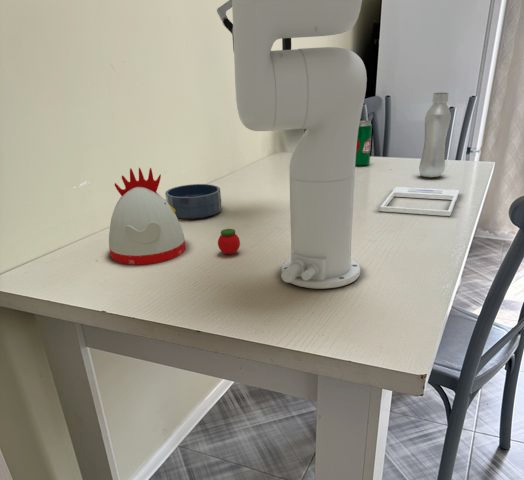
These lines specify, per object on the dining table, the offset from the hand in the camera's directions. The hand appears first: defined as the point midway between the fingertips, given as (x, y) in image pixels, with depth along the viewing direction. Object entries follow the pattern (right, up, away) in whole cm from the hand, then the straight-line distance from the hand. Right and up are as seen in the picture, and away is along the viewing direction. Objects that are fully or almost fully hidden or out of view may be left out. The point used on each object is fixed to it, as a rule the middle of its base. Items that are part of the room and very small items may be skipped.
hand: (262, 55), depth 104 cm
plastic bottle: (+45, -14, +32) cm, 57 cm away
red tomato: (-6, -43, -11) cm, 44 cm away
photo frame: (+36, -27, +11) cm, 46 cm away
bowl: (-15, -29, +12) cm, 35 cm away
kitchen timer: (-21, -42, -8) cm, 48 cm away
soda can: (+30, -5, +49) cm, 57 cm away
